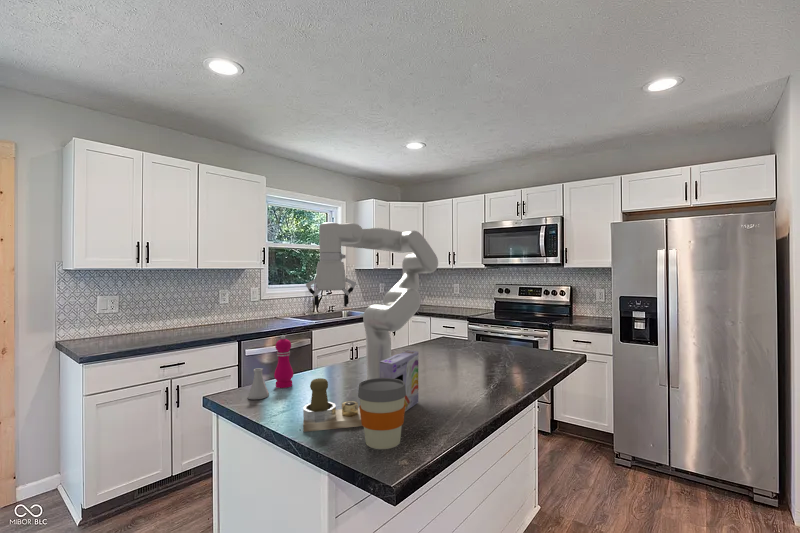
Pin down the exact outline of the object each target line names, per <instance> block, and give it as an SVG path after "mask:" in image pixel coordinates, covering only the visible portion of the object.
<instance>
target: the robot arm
mask: <svg viewBox="0 0 800 533" xmlns="http://www.w3.org/2000/svg"><path fill="white" fill-rule="evenodd" d="M318 230H319V232H318V235H319V236H318V238H319V240H318V241H319V262H318V261H317V265H316V278H314V279H312V280H310V281H309V282H306V284H305V287H306V288H307V290H308V292H309V293H310V294H311V295H312V296H314V297H313V298H314V302H313V303H314V306H316V309H318V308H320V306H319V305H320V304H319V302H320V301H319V300H320V299H319V298H320V297H319V294H320V292H321V291H342V292H343V293H344V295H343V306H344V307H345V308H346V307H348V305H349V304H350V303H349V295H350V294H351V293H352V292H353V291H354V289H355V288H356V286H357V285H356V284H357V283H356V282H355V281H354V280H352V279H349V278H347V277H346V269H345V263H344V261H342V260H344V259H346V256H347V255H346V254H344V253H342V247H348V248H357V249H366V250H377V251H383V252H384V251H385V252H392V253H399V254H401V253H402V254H403V253H408V254H407V255H405V256H404V258H403V259H402V266H401V267H402V269H401V270H402V276H401V278H400V279H399V280H398V281H397V282H396V284H394V285H393V286H392V287H391V288H390V289H389V291H387V292H386V293H385V294H384V296H383V301H382V304H379V303H378V304H377V303H376V304H371V305H369V306H368V307H367V308H366V309H365V310H364V312H363V317H362V318H363V326H364V331H365V346H366V347H365V349H366V350H365V351H366V357H365V358H366V380H369V379H375V378H380V361H383V360H385V359H388V358H390V357H391V356H392V339H391V335H390V332H392V333H393V332H398V331H400V330H401V329H402V328H403V327H404V326H405V325H406V324H407V323H408V322H409V321H410V320H411V318H412V317H414V315H415V314H416V313H417V312H418V311H419V309H420V306H421V303H422V296H421V294H420V292H419V289H420V280H419V278H420V277H419V274H432V273H434V272H436V271H437V269H438V266H439V260H438V257H437V254H436V252H435V251H434V250H433V248H432V247H431V245H430V244H429V242H428V241H427V239H426V238H425V237H424V236H423V234H422V233H420V232H419V231H417V230H406V231H400V230H394V229H388V228H384V227H371V228H370V227H369V228H363V227H362V226H361V225H360V224H358V223H355V222H348V223H347V222H346V223H339V222H323V223H320V224H319V226H318ZM347 283H348V284H350V287H349V288H348V289H346V288H347ZM314 284H316V290H314V289H313V288H312V285H314Z"/></svg>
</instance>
